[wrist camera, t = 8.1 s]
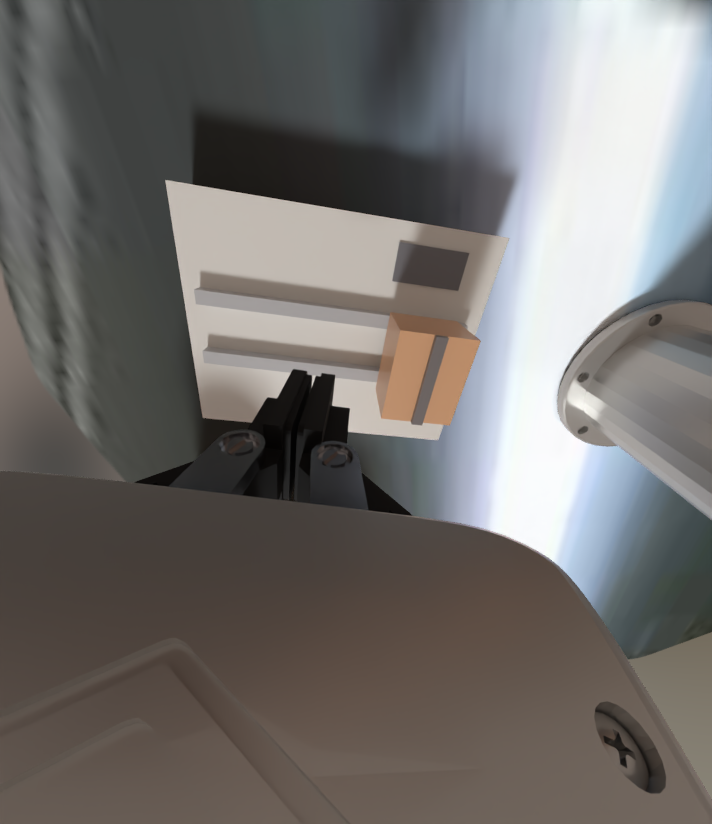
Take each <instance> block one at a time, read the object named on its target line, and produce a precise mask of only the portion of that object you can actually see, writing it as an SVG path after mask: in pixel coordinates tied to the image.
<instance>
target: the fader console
mask: <svg viewBox="0 0 712 824" xmlns="http://www.w3.org/2000/svg"><path fill="white" fill-rule="evenodd" d="M165 181H166V187H167V194H168V200H169V206H170V213H171V219H172V225H173V232H174V238H175V244H176V251H177V257H178V264H179V270H180V276H181V283H182V289H183V295H184V302H185V308H186V314H187V321H188V327H189V334H190V340H191V346H192V353H193V359H194V365H195V372H196V378H197V384H198V391H199V397H200V403H201V410H202V416H203V418H208V419H219V420H230V421H240V422H251V423H252V421H253V420H254V418H255V416H256V415H257V413H258V411H259V410H260V408H261V407H262V405H263V403H264V402H265V400H266V399H267V397H270V398H278V396H279V394H280V392H281V390H282V388H283V387H284V385H285V383H286V381H287V379H288V377H289V375H290V374H291V372H292V370H293V369H297V370H304V371H307V374H308V375H312V386H313V383H314V380H315V377H316V376H321V374H322V373H326V374H333V375H335V384H334V393H333V402H332V406H337V407H345V408H350V413H349V424H348V432H357V433H367V434H378V435H388V436H399V437H409V438H420V439H431V440H438V439H439V436H440V433H441V431H442V428H443V425H440V424H430V423H423V424H422V425H412V424H411V422H410V421H400V420H390V419H381V415H380V410H379V405H378V400H377V394H376V384H377V379H378V373H379V368H380V363H381V358H382V353H383V348H384V342H385V337H386V332H387V327H388V322H389V317H390V312H393V313H400V314H408V315H415V316H422V317H430V318H437V319H444V320H452V321H457V322H458V323H460V324H461V325H462V326H463V327H465V328H466V329H467V330H468V331H469V332H471V333H472V334H473V335H474V336H475V334H476V331H477V329H478V326H479V323H480V320H481V317H482V314H483V312H484V309H485V306H486V303H487V300H488V297H489V295H490V292H491V289H492V286H493V283H494V280H495V278H496V275H497V272H498V269H499V266H500V263H501V261H502V258H503V255H504V252H505V249H506V247H507V244H508V241H509V238H505V237H500V236H494V235H488V234H482V233H476V232H470V231H464V230H458V229H452V228H446V227H440V226H434V225H428V224H423V223H417V222H411V221H405V220H399V219H393V218H387V217H381V216H375V215H369V214H363V213H357V212H351V211H346V210H340V209H334V208H328V207H322V206H316V205H310V204H304V203H298V202H292V201H286V200H280V199H274V198H269V197H263V196H257V195H251V194H245V193H239V192H233V191H227V190H221V189H215V188H209V187H203V186H197V185H192V184H186V183H180V182H174V181H168V180H165Z"/></svg>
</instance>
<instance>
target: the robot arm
mask: <svg viewBox="0 0 712 824" xmlns="http://www.w3.org/2000/svg"><path fill="white" fill-rule="evenodd" d="M334 384H335V375H333V374H326V373H322V374H321V376H316V377H315V380H314V383H313V386H312V375H308V374H307V371H304V370H297V369H293V370H292V372H291V374H290V375H289V377H288V379H287V381H286V383H285V385H284V387H283V388H282V390H281V392H280V394H279V396H278V398H270V397H267V399H266V400H265V402H264V403H263V405H262V407H261V408H260V410H259V411H258V413H257V415H256V416H255V418H254V420H253V421H252V423H251V425H250V426H249V428H248V430H245V429H243V430H234V431H229V432H227V433H225V434H223V435H221V436H220V437H219V438H217V439H216V440H215V441H214V442H213V443H212V444H211V445H210V446H209V447H208V448H207V449H206V450H205V451H204V452H203V453H202V454H201V455H200V456H199V457H198V458H197V459H196V460H195V461H193V462H190V463H187V464H185V465H182V466H179V467H176V468H173V469H171V470H168V471H165V472H162V473H159V474H156V475H154V476H151V477H148V478H145V479H142V480H139V481H137V482H135V483H131V482H122V481H113V480H103V479H95V478H85V477H78V476H67V475H55V474H44V473H33V472H21V471H0V824H712V799H711V797H710V795H709V794H708V792H707V790H706V789H705V787H704V785H703V783H702V782H701V780H700V778H699V777H698V775H697V773H696V772H695V770H694V768H693V767H692V765H691V763H690V761H689V760H688V758H687V756H686V755H685V753H684V751H683V750H682V748H681V746H680V745H679V743H678V741H677V739H676V738H675V736H674V734H673V733H672V731H671V729H670V728H669V726H668V724H667V722H666V721H665V719H664V717H663V716H662V714H661V712H660V711H659V709H658V708H657V706H656V704H655V703H654V701H653V699H652V698H651V696H650V695H649V693H648V691H647V690H646V688H645V687H644V685H643V683H642V682H641V680H640V679H639V677H638V675H637V674H636V672H635V670H634V669H633V668H632V666H631V664H630V662H629V661H628V659H627V658H626V656H625V654H624V653H623V651H622V650H621V648H620V646H619V645H618V643H617V642H616V640H615V639H614V637H613V636H612V634H611V633H610V631H609V630H608V628H607V627H606V625H605V624H604V622H603V621H602V619H601V618H600V616H599V615H598V614H597V612H596V611H595V609H594V608H593V607H592V605H591V604H590V602H589V601H588V600H587V598H586V597H585V595H584V594H583V593H582V592H581V590H580V589H579V588H578V587H577V585H576V584H575V583H574V582H573V581H572V579H571V578H570V577H569V576H568V575H567V574H566V573H565V572H564V571H563V570H562V569H561V568H560V567H559V566H558V565H557V564H555V563H554V562H553V561H552V560H550V559H549V558H548V557H546V556H545V555H543V554H541V553H540V552H538V551H536V550H534V549H533V548H531V547H529V546H527V545H525V544H523V543H520V542H518V541H516V540H514V539H511V538H509V537H507V536H504V535H502V534H499V533H495V532H492V531H489V530H486V529H483V528H479V527H475V526H470V525H466V524H462V523H456V522H449V521H443V520H436V519H430V518H423V517H417V516H412V515H411V514H410V513H409V512H408V511H407V510H406V509H404V508H403V507H402V506H401V505H400V504H398V503H397V502H396V501H395V500H394V499H392V498H391V497H390V496H389V495H388V494H386V493H385V492H384V491H383V490H382V489H380V488H379V487H378V486H377V485H376V484H374V483H373V482H372V481H371V480H370V479H368V478H367V477H366V476H365V475H364V474H362V473H361V468H360V463H359V458H358V454H357V452H356V451H355V450H354V448H353V447H351V446H350V445H348V444H347V435H348V424H349V413H350V408H345V407H337V406H332V402H333V393H334ZM557 408H558V414H559V417H560V420H561V422H562V423H563V425H564V426H565V427H566V429H567V430H568V431H570V432H571V433H572V434H573V435H574V436H575V437H576V438H578V439H580V440H582V441H583V442H586V443H589V444H592V445H597V446H619V447H620V448H621V449H622V450H624V451H625V452H626V453H627V454H629V455H630V456H631V457H632V458H634V459H635V460H636V461H637V462H639V463H640V464H641V465H643V466H644V467H645V468H646V469H648V470H649V471H650V472H651V473H653V474H654V475H655V476H656V477H658V478H659V479H660V480H661V481H663V482H664V483H665V484H667V485H668V486H669V487H670V488H672V489H673V490H674V491H675V492H677V493H678V494H679V495H680V496H682V497H683V498H684V499H685V500H687V501H688V502H689V503H690V504H692V505H693V506H694V507H696V508H697V509H698V510H699V511H701V512H702V513H703V514H704V515H706V516H707V517H708V518H709V519H711V520H712V305H711V304H707V303H703V302H698V301H691V300H669V301H664V302H660V303H656V304H652V305H649V306H646V307H644V308H641V309H639V310H636V311H634V312H631V313H630V314H628V315H626V316H624V317H623V318H621V319H619V320H617V321H615V322H614V323H612V324H611V325H610V326H608V327H607V328H606V329H604V330H603V331H602V332H600V333H599V334H598V335H597V336H596V337H595V338H593V339H592V340H591V341H590V342H589V343H588V344H587V345H586V346H585V347H584V348H583V349H582V351H581V352H580V353H579V354H578V356H577V357H576V358H575V359H574V360H573V362H572V364H571V365H570V367H569V369H568V370H567V372H566V373H565V375H564V378H563V380H562V383H561V385H560V388H559V393H558V398H557ZM294 484H295V491H294V500H296V501H297V502H293V501H285V500H284V499H287V500H290V498H291V494H292V491H293V487H294Z"/></svg>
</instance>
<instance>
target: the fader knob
mask: <svg viewBox="0 0 712 824" xmlns="http://www.w3.org/2000/svg"><path fill="white" fill-rule="evenodd" d="M479 344H480V340H479V339H478V338H477V337H475V336H474V335H473V334H472V333H471V332H469V331H468V330H467V329H466V328H465V327H463V326H462V325H461V324H460V323H458V322H457V321H452V320H444V319H437V318H430V317H422V316H415V315H408V314H400V313H393V312H390V317H389V322H388V327H387V332H386V337H385V342H384V348H383V353H382V358H381V363H380V368H379V373H378V379H377V384H376V394H377V400H378V405H379V410H380V415H381V419H390V420H400V421H410V422H411V424H412V425H422V424H423V423H430V424H440V425H450V423H451V420H452V418H453V415H454V412H455V410H456V407H457V404H458V401H459V399H460V396H461V393H462V390H463V388H464V385H465V382H466V380H467V377H468V374H469V371H470V369H471V366H472V363H473V360H474V358H475V355H476V352H477V350H478V347H479Z"/></svg>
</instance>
